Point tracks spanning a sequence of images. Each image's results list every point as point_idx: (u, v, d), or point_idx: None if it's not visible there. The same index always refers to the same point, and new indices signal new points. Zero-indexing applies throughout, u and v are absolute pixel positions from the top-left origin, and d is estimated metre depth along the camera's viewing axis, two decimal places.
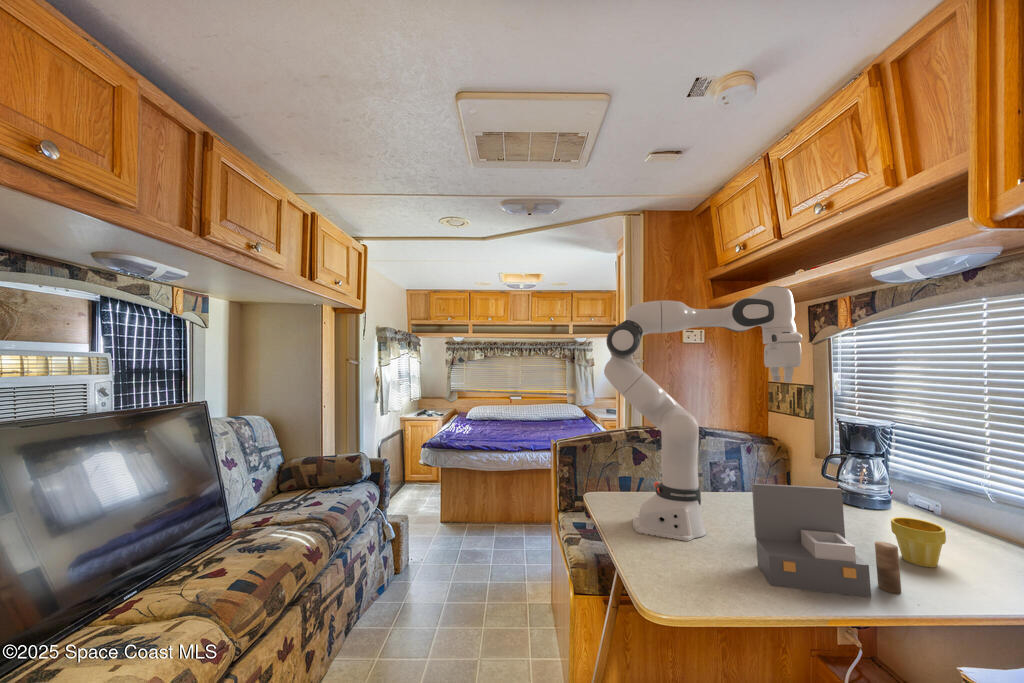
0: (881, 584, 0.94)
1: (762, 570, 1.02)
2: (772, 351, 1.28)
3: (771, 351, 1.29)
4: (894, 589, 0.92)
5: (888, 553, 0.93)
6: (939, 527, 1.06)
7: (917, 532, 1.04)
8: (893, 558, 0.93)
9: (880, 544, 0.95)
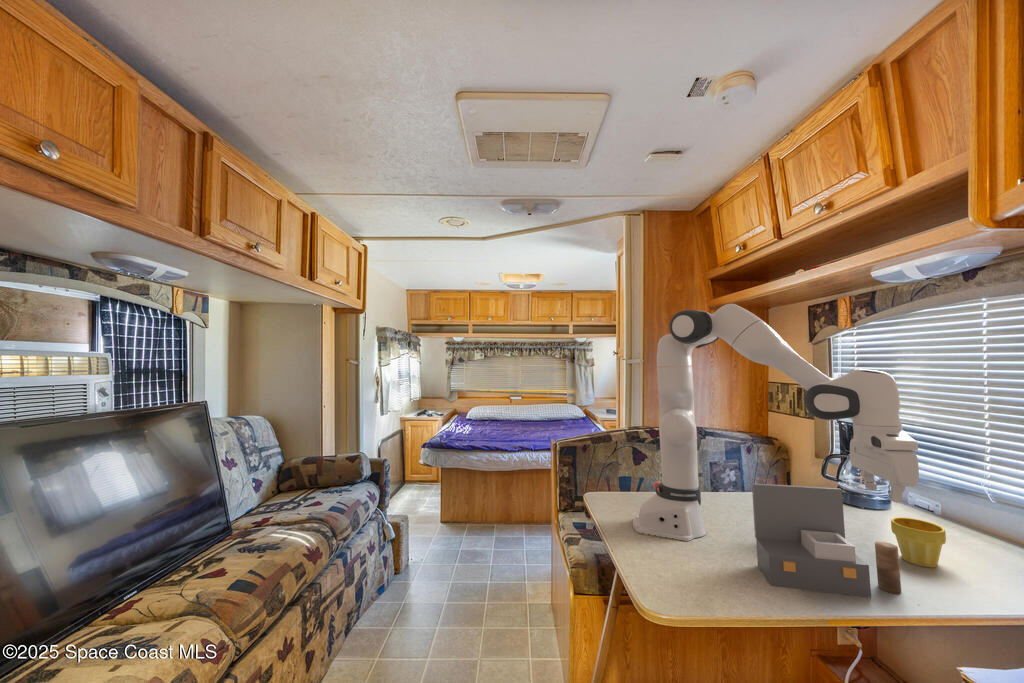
0: (881, 584, 0.94)
1: (762, 570, 1.02)
2: (867, 452, 0.98)
3: (864, 450, 1.00)
4: (894, 589, 0.92)
5: (888, 553, 0.93)
6: (939, 527, 1.06)
7: (917, 532, 1.04)
8: (893, 558, 0.93)
9: (880, 544, 0.95)
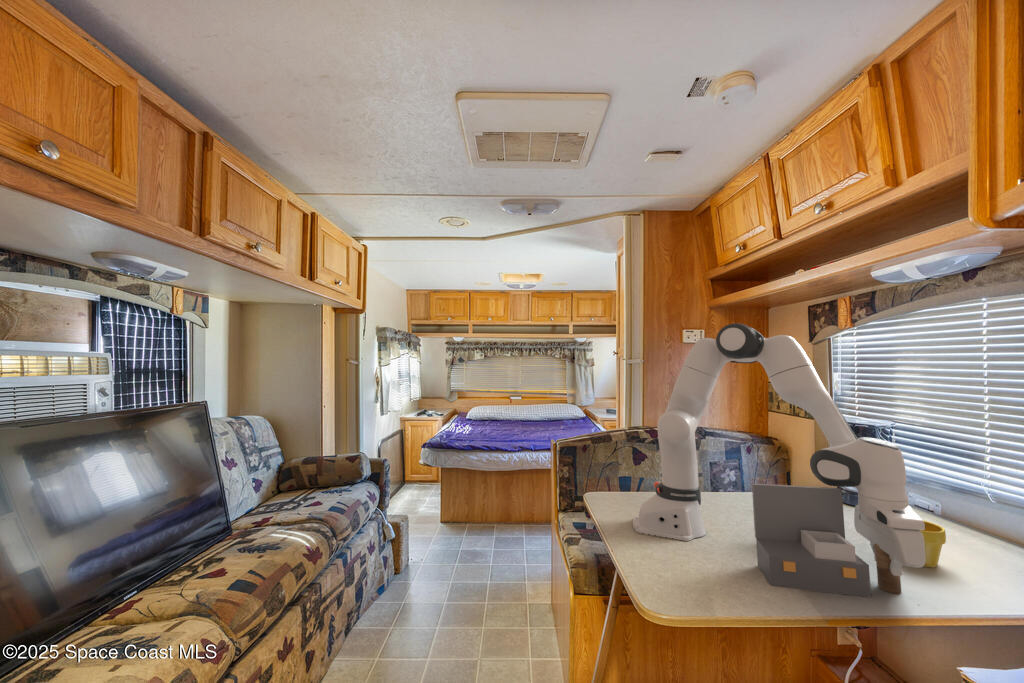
0: (881, 584, 0.94)
1: (762, 570, 1.02)
2: (872, 522, 0.97)
3: None
4: (894, 589, 0.92)
5: None
6: (939, 527, 1.06)
7: None
8: None
9: None
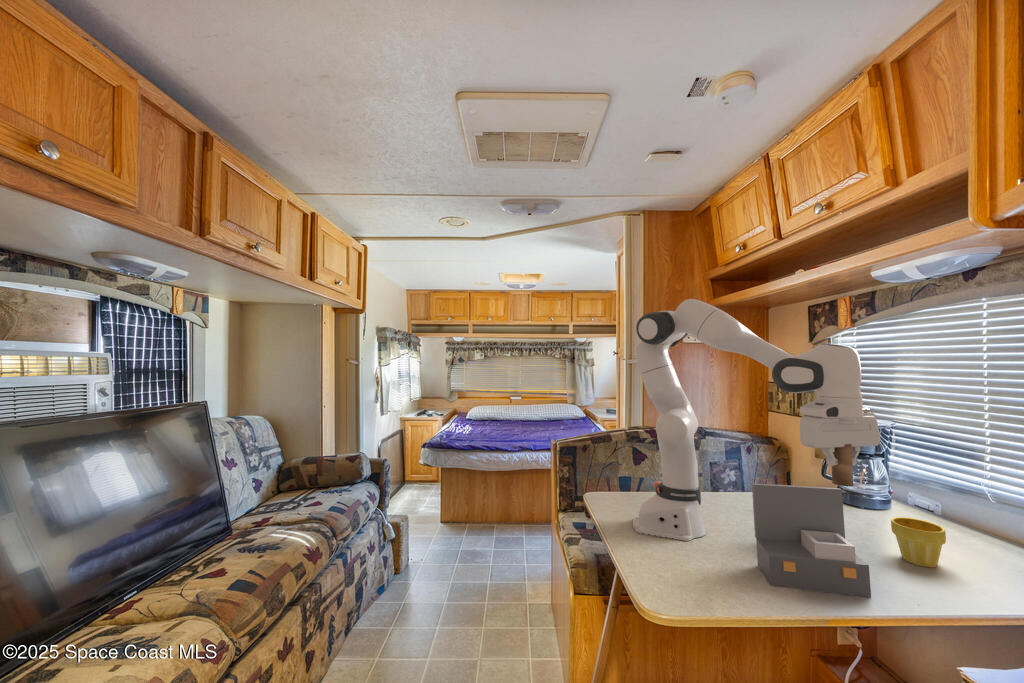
0: None
1: (762, 570, 1.02)
2: None
3: None
4: (835, 480, 0.98)
5: None
6: (939, 527, 1.06)
7: (917, 532, 1.04)
8: (836, 451, 0.98)
9: None
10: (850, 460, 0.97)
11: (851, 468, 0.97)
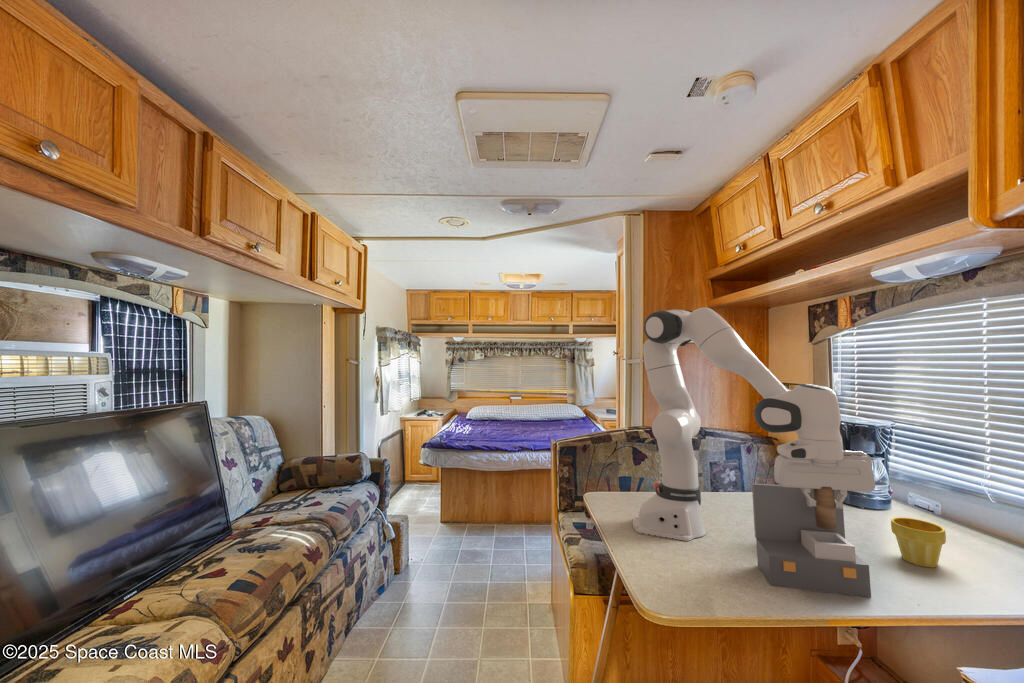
0: None
1: (762, 570, 1.02)
2: None
3: None
4: (816, 521, 0.99)
5: None
6: (939, 527, 1.06)
7: (917, 532, 1.04)
8: (814, 493, 0.99)
9: None
10: (829, 503, 0.97)
11: (830, 511, 0.96)
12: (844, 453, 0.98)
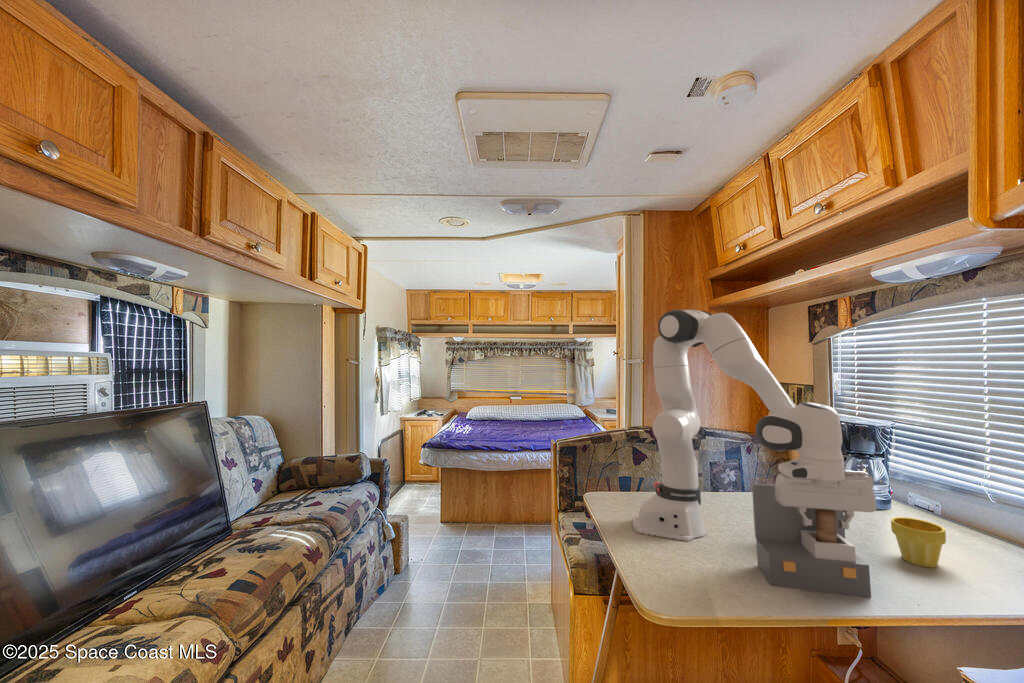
0: None
1: (762, 570, 1.02)
2: None
3: None
4: None
5: (815, 513, 0.99)
6: (939, 527, 1.06)
7: (917, 532, 1.04)
8: (816, 518, 0.99)
9: (824, 509, 0.99)
10: (830, 529, 0.96)
11: (832, 538, 0.96)
12: (845, 473, 0.97)
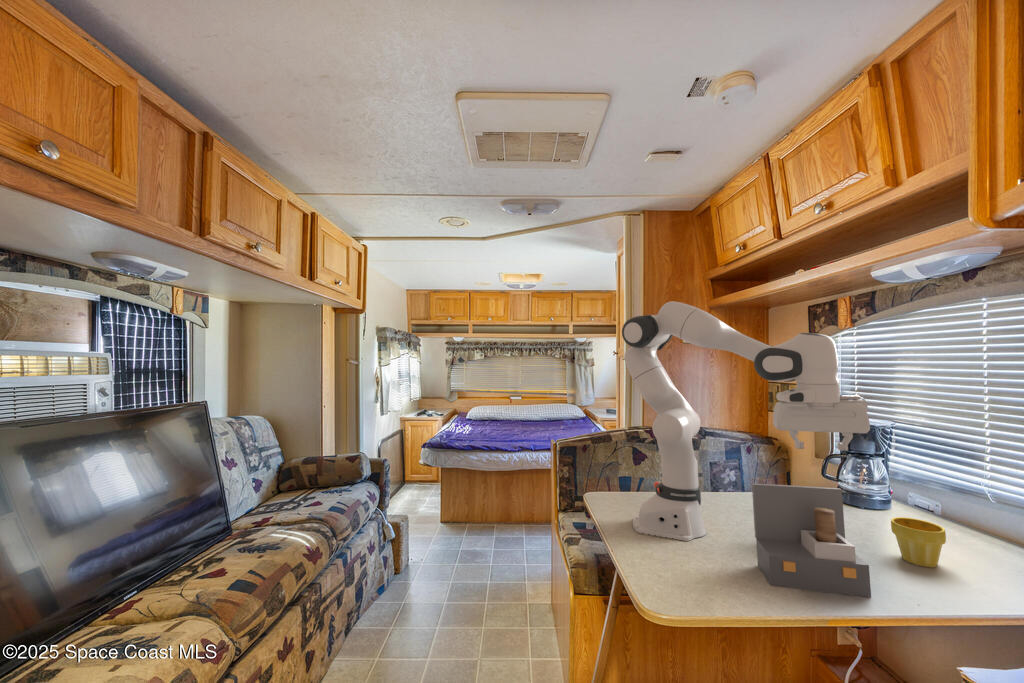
0: None
1: (762, 570, 1.02)
2: None
3: None
4: None
5: (814, 513, 1.00)
6: (939, 527, 1.06)
7: (917, 532, 1.04)
8: (815, 518, 0.99)
9: (823, 509, 1.00)
10: (830, 529, 0.96)
11: (831, 537, 0.96)
12: (841, 397, 1.02)
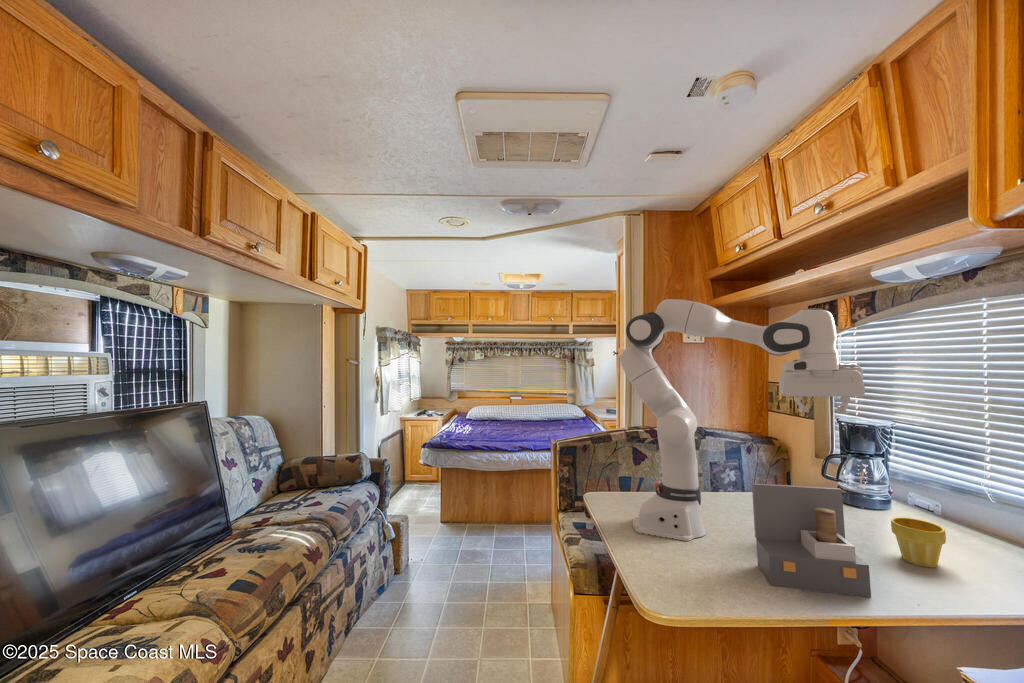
0: None
1: (762, 570, 1.02)
2: None
3: None
4: None
5: (815, 514, 0.99)
6: (939, 527, 1.06)
7: (917, 532, 1.04)
8: (816, 518, 0.98)
9: (823, 509, 0.99)
10: (830, 529, 0.96)
11: (832, 538, 0.96)
12: (839, 365, 1.14)
